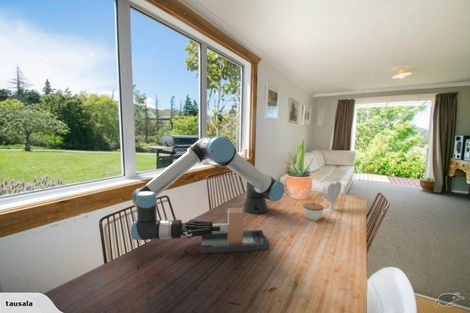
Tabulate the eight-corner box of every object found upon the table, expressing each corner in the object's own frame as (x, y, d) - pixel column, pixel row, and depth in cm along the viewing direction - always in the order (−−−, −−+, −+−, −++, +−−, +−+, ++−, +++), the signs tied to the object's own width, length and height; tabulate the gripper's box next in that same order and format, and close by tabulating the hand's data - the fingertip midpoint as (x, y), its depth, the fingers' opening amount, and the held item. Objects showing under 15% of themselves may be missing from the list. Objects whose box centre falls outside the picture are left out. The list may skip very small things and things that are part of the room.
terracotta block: (228, 245, 91) (229, 213, 89) (227, 238, 97) (227, 208, 95) (242, 244, 92) (243, 212, 90) (240, 237, 97) (241, 207, 96)
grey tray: (200, 253, 86) (200, 247, 86) (201, 237, 99) (201, 232, 99) (268, 249, 89) (268, 244, 89) (261, 235, 102) (261, 230, 102)
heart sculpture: (327, 213, 132) (329, 184, 130) (320, 210, 136) (321, 182, 134) (340, 208, 141) (342, 181, 139) (333, 206, 145) (335, 179, 143)
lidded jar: (323, 217, 126) (324, 201, 125) (322, 223, 116) (323, 207, 115) (304, 213, 130) (304, 198, 129) (301, 220, 120) (302, 204, 119)
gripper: (174, 230, 97) (226, 228, 100) (168, 245, 84) (228, 243, 87) (174, 214, 96) (226, 213, 99) (168, 227, 83) (229, 225, 86)
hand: (227, 227), depth 93 cm, fingers closed
